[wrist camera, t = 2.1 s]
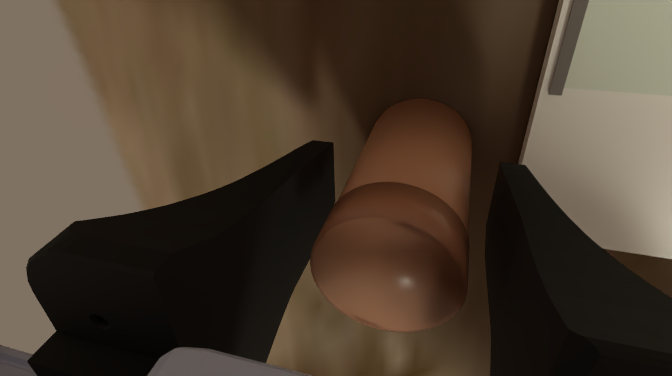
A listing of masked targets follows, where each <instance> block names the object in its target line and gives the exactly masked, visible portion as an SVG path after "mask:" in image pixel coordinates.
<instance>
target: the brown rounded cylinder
mask: <svg viewBox="0 0 672 376" xmlns="http://www.w3.org/2000/svg"><path fill="white" fill-rule="evenodd" d="M471 160H472V138H471V133H470V131H469V128H468V126H467V124H466V122H465V121H464V120H463V118H462V117H461V116H460V115H459V114H458V113H457V112H456V111H455V110H453V109H452V108H451V107H449V106H447V105H445V104H443V103H441V102H438V101H434V100H430V99H418V98H417V99H409V100H405V101H402V102H399V103H397V104H395V105H393V106H391V107H390V108H388V109H387V110H386V111H385V112H384V113H382V115H381V116H380V117H379V118H378V120H377V121H376V123H375V125H374V127H373V129H372V131H371V133H370V135H369V137H368V139H367V142H366V144H365V146H364V148H363V150H362V152H361V154H360V156H359V158H358V160H357V162H356V164H355V166H354V168H353V170H352V172H351V175H350V177H349V179H348V181H347V183H346V185H345V187H344V189H343V191H342V193H341V195H340V197H339V199H338V201H337V202H336V203H335V204H334V206H333V208H332V209H331V211H330V213H329V215H328V217H327V219H326V221H325V223H324V225H323V227H322V229H321V231H320V233H319V235H318V237H317V239H316V241H315V243H314V246H313V248H312V251H311V257H310V266H311V272H312V275H313V278H314V281H315V283H316V285H317V287H318V288H319V290H320V291H321V293H322V294H323V295H324V297H325V298H326V299H327V300H328V301H329V302H330V303H331V304H332V305H333V306H334V307H336V308H337V309H338V310H339V311H341V312H342V313H344V314H345V315H347V316H348V317H350V318H352V319H354V320H356V321H358V322H360V323H362V324H365V325H367V326H370V327H373V328H377V329H381V330H386V331H392V332H419V331H424V330H428V329H432V328H435V327H437V326H439V325H442V324H444V323H445V322H447V321H448V320H450V319H451V318H452V317H453V316H454V315H456V314H457V312H458V311H459V310H460V309H461V307H462V305H463V303H464V301H465V298H466V295H467V286H468V264H469V239H468V217H469V198H470V179H471Z"/></svg>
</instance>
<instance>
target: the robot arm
mask: <svg viewBox="0 0 672 376" xmlns="http://www.w3.org/2000/svg"><path fill="white" fill-rule="evenodd" d="M334 203H335V182H334V148H333V143H332V142H323V141H315V140H313V141H311V142H308V143H306V144H304V145H303V146H301V147H299V148H297V149H295V150H294V151H292V152H290V153H288V154H287V155H285V156H283V157H281V158H280V159H278V160H276V161H274V162H273V163H271V164H269V165H267V166H265V167H263V168H261V169H259V170H257V171H255V172H253V173H251V174H249V175H247V176H245V177H243V178H241V179H239V180H237V181H235V182H233V183H230V184H228V185H226V186H223V187H221V188H218V189H216V190H213V191H210V192H208V193H205V194H202V195H199V196H196V197H192V198H189V199H186V200H183V201H179V202H176V203H173V204H169V205H165V206H161V207H157V208H153V209H149V210H144V211H139V212H134V213H129V214H124V215H118V216H111V217H105V218H97V219H91V220H83V221H75V222H73V223H72V224H71V225H70V226H69V227H67V228H66V229H65V230H63V231H62V232H61V233H60V234H59V235H58V236H56V237H55V238H54V239H52V240H51V241H50V242H49V243H48V244H46V245H45V246H44V247H43V248H41V249H40V250H39V251H38V252H36V253H35V254H34V255H33V256H32V257H30V258H29V260H28V264H27V267H26V268H27V277H28V282H29V284H30V286H31V288H32V291H33V293H34V294H35V296H36V298H37V299H38V301H39V303H40V304H41V306H42V308H43V309H44V311H45V312H46V314H47V316H48V317H49V319H50V321H51V322H52V324H53V326H54V327H55V329H56V330H57V331H56V332H55V333H54V334H53V335H52V336H51V337H50V338H49V339H48V340H47V341H46V342H45V343H44V344H43V345H42V346H41V347H40V348H39V349H38V350H37V351H36V352H35V353H34V354H29V353H26V352H22V351H19V350H15V349H12V348H9V347H5V346H2V345H0V376H313V375H309V374H305V373H301V372H297V371H294V370H290V369H286V368H282V367H278V366H274V365H270V364H266V361H267V358H268V355H269V353H270V350H271V347H272V344H273V342H274V339H275V336H276V333H277V331H278V328H279V325H280V323H281V320H282V317H283V315H284V312H285V310H286V307H287V304H288V302H289V299H290V297H291V295H292V293H293V291H294V288H295V286H296V284H297V282H298V280H299V279H300V277H301V275H302V273H303V271H304V269H305V267H306V265H307V263H308V261H309V260H310V257H311V251H312V248H313V246H314V243H315V241H316V239H317V237H318V235H319V233H320V231H321V229H322V227H323V225H324V223H325V221H326V219H327V217H328V215H329V213H330V211H331V209H332V208H333V206H334ZM485 264H486V276H487V288H488V300H489V312H490V324H491V367H490V376H672V298H671V297H669V296H667V295H666V294H664V293H663V292H661V291H660V290H658V289H656V288H655V287H653V286H652V285H651V284H649V283H648V282H646V281H645V280H643V279H642V278H640V277H639V276H638V275H636V274H635V273H633V272H632V271H630V270H629V269H628V268H626V267H625V266H624V265H622V264H621V263H620V262H618V261H617V260H616V259H614V258H613V257H612V256H611V255H610V254H608V253H607V252H606V251H605V250H604V249H602V248H601V247H600V246H599V245H598V244H596V243H595V242H594V241H593V240H592V239H591V238H590V237H589V236H587V235H586V234H585V233H584V232H583V231H582V230H581V229H580V228H579V227H578V226H577V225H576V224H575V223H574V222H573V221H572V220H571V219H570V218H569V217H568V216H567V215H566V214H565V212H564V211H563V210H562V209H561V208H560V207H559V206H558V205H557V204H556V202H555V201H554V200H553V199H552V198H551V197H550V195H549V194H548V193H547V192H546V191H545V189H544V188H543V187H542V186H541V184H540V183H539V182H538V180H537V179H536V178H535V177H534V175H533V174H532V173H531V171H530V170H529V169H528V168H527V166H526V165H521V164H512V163H504V162H500V166H499V170H498V175H497V179H496V184H495V188H494V193H493V197H492V202H491V206H490V211H489V215H488V220H487V224H486V241H485Z"/></svg>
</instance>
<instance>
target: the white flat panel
mask: <svg viewBox="0 0 672 376" xmlns="http://www.w3.org/2000/svg"><path fill="white" fill-rule="evenodd" d="M518 164H521V165H526V166H527V168H528V169H529V170H530V171H531V173H532V174H533V175H534V177H535V178H536V179H537V180H538V182H539V183H540V184H541V186H542V187H543V188H544V189H545V191H546V192H547V193H548V194H549V195H550V197H551V198H552V199H553V200H554V201H555V202H556V204H557V205H558V206H559V207H560V208H561V209H562V210H563V211H564V212H565V214H566V215H567V216H568V217H569V218H570V219H571V220H572V221H573V222H574V223H575V224H576V225H577V226H578V227H579V228H580V229H581V230H582V231H583V232H584V233H585V234H586V235H587V236H589V237H590V238H591V239H592V240H593V241H594V242H595V243H596V244H598V245H599V246H600V247H601V248H602V249H609V250H615V251H622V252H628V253H635V254H641V255H648V256H654V257H661V258H667V259H672V0H559V2H558V6H557V10H556V14H555V18H554V22H553V26H552V30H551V34H550V38H549V42H548V46H547V50H546V54H545V58H544V62H543V66H542V70H541V74H540V78H539V82H538V86H537V90H536V94H535V98H534V102H533V106H532V110H531V114H530V118H529V122H528V126H527V130H526V134H525V138H524V142H523V146H522V150H521V154H520V158H519V162H518Z"/></svg>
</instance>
